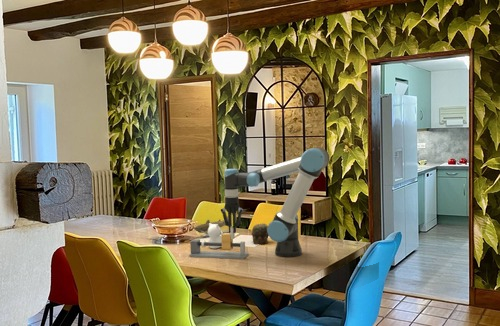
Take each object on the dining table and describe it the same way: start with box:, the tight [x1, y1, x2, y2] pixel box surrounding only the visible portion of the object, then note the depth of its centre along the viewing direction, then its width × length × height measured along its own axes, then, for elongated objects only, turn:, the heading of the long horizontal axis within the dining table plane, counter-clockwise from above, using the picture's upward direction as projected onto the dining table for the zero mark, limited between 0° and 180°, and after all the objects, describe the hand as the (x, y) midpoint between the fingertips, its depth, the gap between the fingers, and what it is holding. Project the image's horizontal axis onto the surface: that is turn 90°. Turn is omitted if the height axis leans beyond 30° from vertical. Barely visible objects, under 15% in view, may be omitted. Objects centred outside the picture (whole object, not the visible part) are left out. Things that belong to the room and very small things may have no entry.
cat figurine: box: [207, 222, 224, 249], centre depth 305 cm, size 9×12×15 cm
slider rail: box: [188, 238, 249, 260], centre depth 284 cm, size 32×10×8 cm, turn 75°
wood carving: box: [193, 215, 228, 237], centre depth 343 cm, size 9×35×11 cm, turn 139°
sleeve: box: [220, 232, 234, 251], centre depth 282 cm, size 5×5×9 cm
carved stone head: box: [251, 223, 269, 245], centre depth 313 cm, size 11×11×12 cm
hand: (232, 238), depth 281 cm, fingers closed
